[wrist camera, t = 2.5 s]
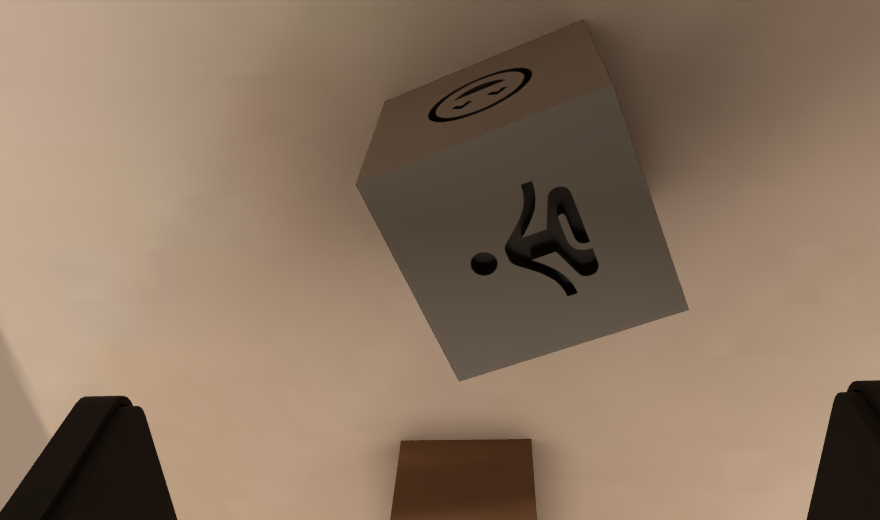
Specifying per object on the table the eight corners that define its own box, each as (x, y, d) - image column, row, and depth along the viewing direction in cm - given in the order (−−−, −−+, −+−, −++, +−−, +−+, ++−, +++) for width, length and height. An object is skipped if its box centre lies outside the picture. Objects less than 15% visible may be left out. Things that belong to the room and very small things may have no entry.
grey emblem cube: (645, 202, 20) (689, 309, 16) (464, 265, 21) (459, 381, 17) (582, 18, 18) (612, 83, 14) (385, 100, 19) (355, 184, 15)
